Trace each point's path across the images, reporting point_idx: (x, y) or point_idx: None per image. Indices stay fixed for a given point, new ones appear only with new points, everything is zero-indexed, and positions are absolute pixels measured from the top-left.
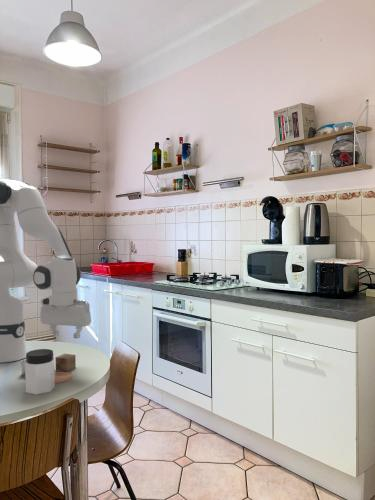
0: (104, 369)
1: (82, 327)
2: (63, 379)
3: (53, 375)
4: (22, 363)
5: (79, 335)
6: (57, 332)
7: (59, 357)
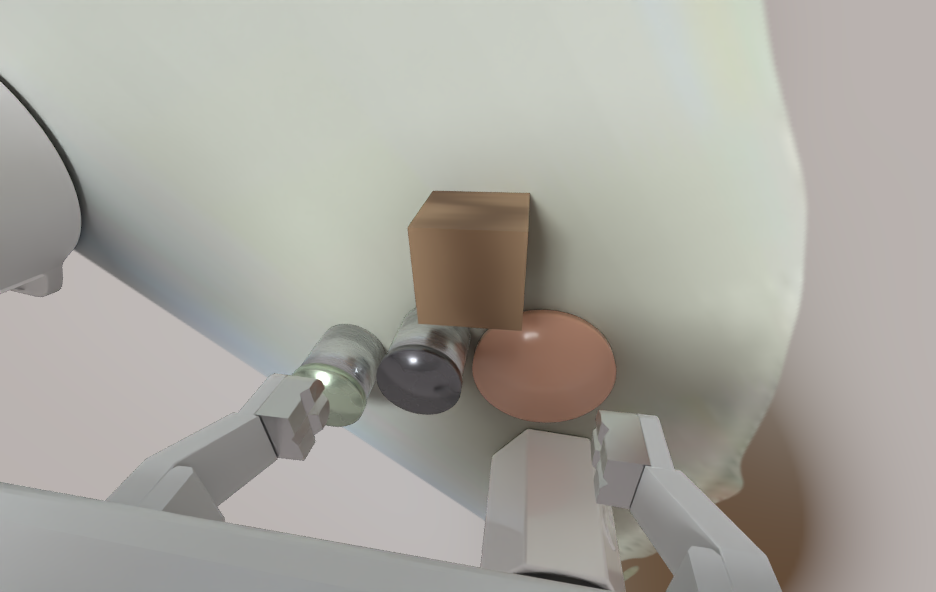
0: (787, 146)
1: (772, 572)
2: (598, 402)
3: (607, 508)
4: (327, 424)
5: (660, 442)
6: (299, 428)
7: (449, 320)
